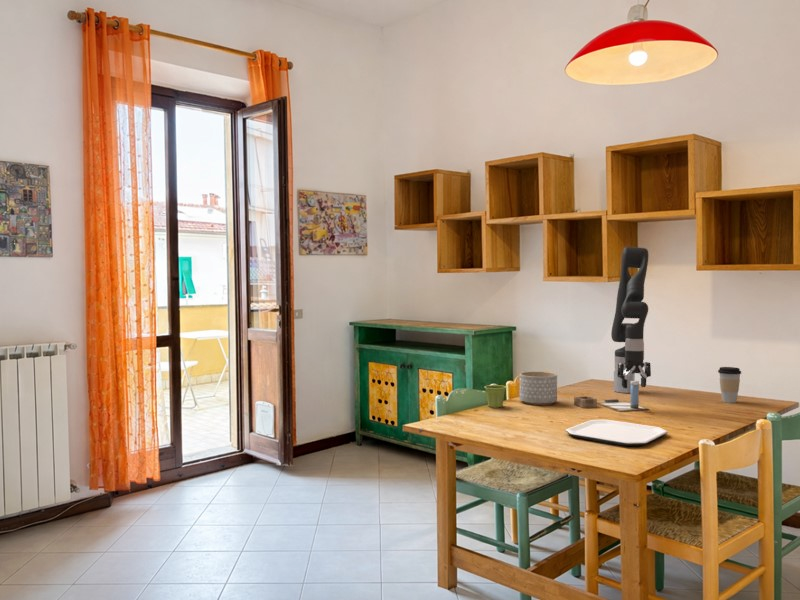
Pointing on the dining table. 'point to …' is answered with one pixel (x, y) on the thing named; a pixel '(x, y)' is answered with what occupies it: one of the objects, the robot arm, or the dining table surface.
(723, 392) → the coffee cup
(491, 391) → the plant pot
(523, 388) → the planter
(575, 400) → the pen block
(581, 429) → the plate
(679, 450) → the dining table surface
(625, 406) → the clipboard
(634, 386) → the marker
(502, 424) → the dining table surface
